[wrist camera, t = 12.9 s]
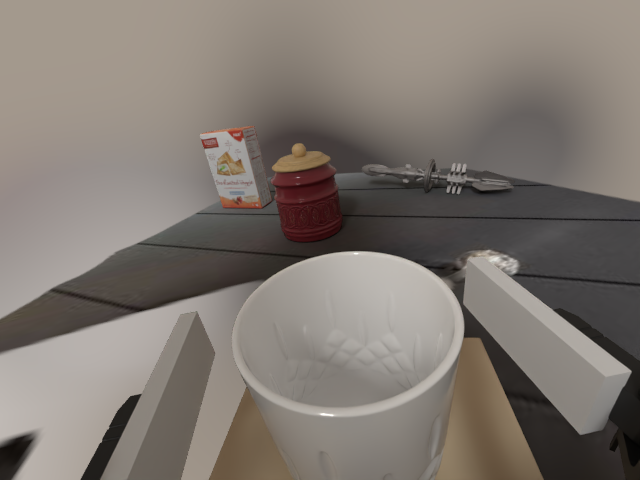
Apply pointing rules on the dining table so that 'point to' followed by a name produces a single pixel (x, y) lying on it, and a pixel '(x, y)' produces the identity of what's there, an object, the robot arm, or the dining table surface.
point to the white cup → (353, 365)
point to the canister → (306, 195)
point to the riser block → (460, 447)
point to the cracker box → (237, 167)
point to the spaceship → (443, 177)
